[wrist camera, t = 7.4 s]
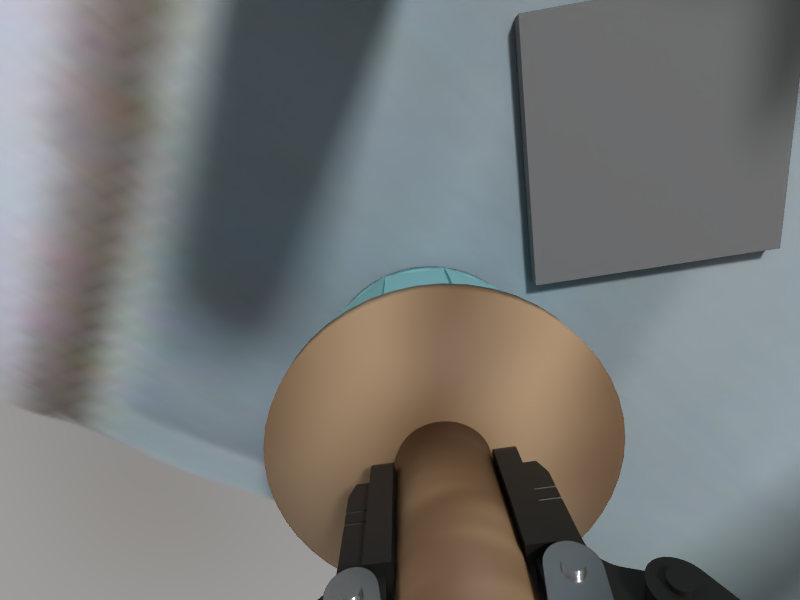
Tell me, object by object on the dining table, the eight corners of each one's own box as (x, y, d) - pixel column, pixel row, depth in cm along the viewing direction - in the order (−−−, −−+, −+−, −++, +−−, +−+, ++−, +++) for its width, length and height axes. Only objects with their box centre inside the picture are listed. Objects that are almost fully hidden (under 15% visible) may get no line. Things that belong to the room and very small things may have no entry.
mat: (798, -33, 16) (812, -40, 16) (768, 245, 19) (780, 248, 19) (514, 19, 17) (518, 13, 16) (531, 282, 20) (536, 285, 19)
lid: (612, 255, 13) (838, 346, 6) (614, 555, 16) (758, 813, 10) (229, 314, 13) (64, 455, 7) (312, 592, 17) (257, 861, 10)
